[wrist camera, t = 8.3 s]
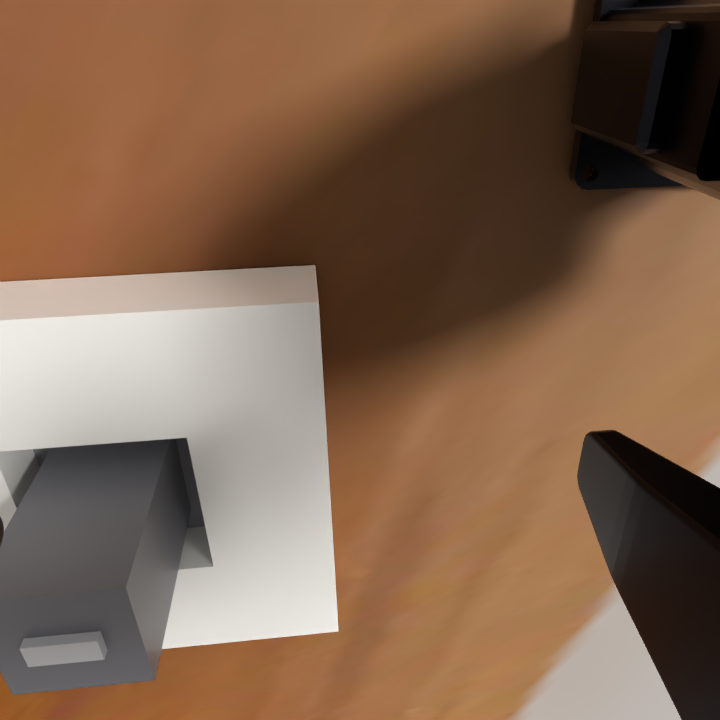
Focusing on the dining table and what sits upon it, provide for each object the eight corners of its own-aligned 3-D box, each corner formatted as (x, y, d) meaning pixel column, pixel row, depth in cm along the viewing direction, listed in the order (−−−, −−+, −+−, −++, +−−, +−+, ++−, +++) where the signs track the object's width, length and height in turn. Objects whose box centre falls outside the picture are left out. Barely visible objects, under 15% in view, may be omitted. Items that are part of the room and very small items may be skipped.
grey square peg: (173, 427, 21) (123, 597, 15) (191, 509, 23) (153, 690, 17) (58, 435, 21) (-43, 612, 15) (86, 517, 23) (8, 705, 17)
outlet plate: (315, 264, 20) (318, 301, 17) (334, 573, 27) (338, 631, 25) (-161, 290, 19) (-235, 333, 16) (-5, 604, 26) (-38, 669, 23)
